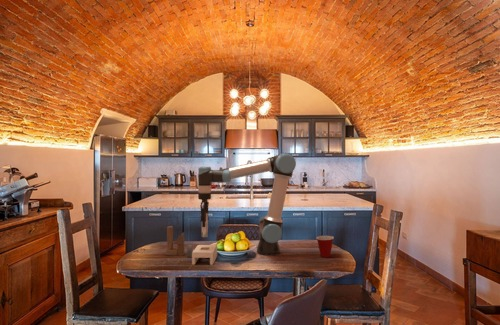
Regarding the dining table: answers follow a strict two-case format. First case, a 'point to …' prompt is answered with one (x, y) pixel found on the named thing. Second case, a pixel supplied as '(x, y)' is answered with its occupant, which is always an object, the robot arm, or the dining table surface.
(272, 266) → the dining table surface
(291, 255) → the dining table surface
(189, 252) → the short charcoal pin
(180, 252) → the brown wooden bracket
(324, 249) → the plastic cup
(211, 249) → the bridge
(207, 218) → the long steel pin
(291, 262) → the dining table surface
